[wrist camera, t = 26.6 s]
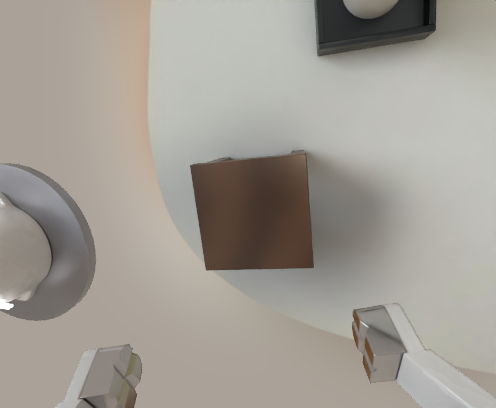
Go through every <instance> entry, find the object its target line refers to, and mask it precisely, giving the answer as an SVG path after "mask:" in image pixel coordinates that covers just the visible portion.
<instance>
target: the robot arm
mask: <svg viewBox="0 0 496 408" xmlns="http://www.w3.org/2000/svg"><path fill="white" fill-rule="evenodd" d="M51 260H52V256H51V249H50V245H49V242H48V239H47V237H46V235H45V233H44V231H43V230H42V228H41V227H40V225H39V224H38V223H37V222H36V221H35V220H34V219H33V218H32V217H31V216H30V215H28V214H27V213H25V212H24V211H22V210H20V209H19V208H17V207H16V206H14V205H13V204H12V202H11V201H10V200H9V199H8V198H7V197H6V196H5V195H4V194H3V193H1V192H0V308H3V309H10V308H11V307H13V305H12V304H7V303H8V302H10V301H12V300H14V299H17V300H22V301H27V300H29V299H31V298H33V296H34V294H35V292H36V288H37V286H38V285H39V284H40V283H41V282H42V281H43V280H44V279H45V278H46V276H47V275H48V273H49V270H50V267H51ZM353 318H354V320H355V321H354V322H352V330H353V336H354V340H355V342H356V346H357V348H358V350H359V351H360V352H361V353H362V354H363V365H364V368H365V370H366V373H367V376H368V378H369V381H370V383H376V382H385V381H394V380H396V382H397V383H398V384H399V385H400V386H401V387H402V388H403V389H404V390H405V391H406V392H407V393H408V394H409V395H410V396H411V397H412V398H413V399H414V400H415V401H416V402H417V403H418V404H419V405H420V406H421V407H422V408H496V397H494V396H493V395H492V394H490V393H489V392H488V391H486V390H485V389H483V388H482V387H481V386H479V385H478V384H477V383H475V382H474V381H473V380H471V379H470V378H468V377H467V376H466V375H464V374H463V373H462V372H460V371H459V370H457V369H456V368H455V367H454V366H452V365H451V364H450V363H448V362H447V361H445V360H444V359H443V358H441V357H440V356H439V355H437V354H436V353H435V352H433V351H432V350H431V349H428V350H425V348H424V346H423V344H422V342H421V341H420V339H419V337H418V335H417V334H416V332H415V330H414V328H413V326H412V325H411V323H410V321H409V319H408V318H407V316H406V314H405V312H404V310H403V309H402V307H401V306H400V305H399V304H398V303H393V304H386V305H379V306H373V307H367V308H361V309H355V310H354V311H353ZM132 349H133V348H132V347H131V346H130V345H129V344H126V345H119V346H112V347H106V348H98V349H92V350H86V352H85V353H84V354H83V355H82V357H81V360H80V362H79V365H78V367H77V370H76V372H75V375H74V377H73V380H72V382H71V384H70V387H69V389H68V392H67V394H66V397H65V399H64V401H62V402H59V403H58V404H57V405H56V407H55V408H134V405H135V401H136V397H137V394H136V391H135V389H134V388H135V387H136V386H137V384H138V383H139V381H140V379H141V374H142V363H141V360H140V357H139V356H138V355H137V354H134V353H132Z"/></svg>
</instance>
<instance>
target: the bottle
mask: <svg viewBox="0 0 496 408" xmlns="http://www.w3.org/2000/svg"><path fill="white" fill-rule="evenodd" d="M343 2H344V4H345V6H346V8H347V9H348V10H349V11H350V12H351V13H352V14H353V15H355V16H357V17H359V18H363V19H373V18H377V17H380V16H382V15H384V14H386V13H387V12H388V11H390V10H391V9H392V8H393V7H394V6H395V5H396V3H397V2H398V0H343Z"/></svg>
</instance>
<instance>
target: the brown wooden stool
mask: <svg viewBox="0 0 496 408" xmlns="http://www.w3.org/2000/svg"><path fill="white" fill-rule="evenodd" d="M190 167H191V174H192V181H193V187H194V194H195V201H196V207H197V214H198V220H199V227H200V234H201V240H202V247H203V254H204V260H205V267H206V270H243V269H288V268H313V267H314V264H313V249H312V234H311V219H310V204H309V189H308V173H307V158H306V153H304V150H298V151H292V153H291V154H288V155H278V156H268V157H258V158H248V159H238V160H231V158H230V157H228V158H220V159H217V160H213V161H210V162H207V163H198V164H193V165H190Z"/></svg>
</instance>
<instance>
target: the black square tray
mask: <svg viewBox="0 0 496 408" xmlns="http://www.w3.org/2000/svg"><path fill="white" fill-rule="evenodd" d="M315 18H316V37H317V55H318V56H322V55H328V54H334V53H340V52H346V51H353V50H359V49H365V48H371V47H377V46H384V45H390V44H396V43H402V42H408V41H415V40H421V39H425V38H426V37H428V36H429V35H430V34H431V33H433V32H434V31H435V30H436V0H398V2H397V3H396V5H395V6H394V7H393V8H392V9H391V10H390V11H388V12H387V13H386V14H384V15H382V16H380V17H377V18H373V19H363V18H359V17H357V16H355V15H353V14H352V13H351V12H350V11H349V10H348V9H347V8H346V6H345V4H344V2H343V0H315Z"/></svg>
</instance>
